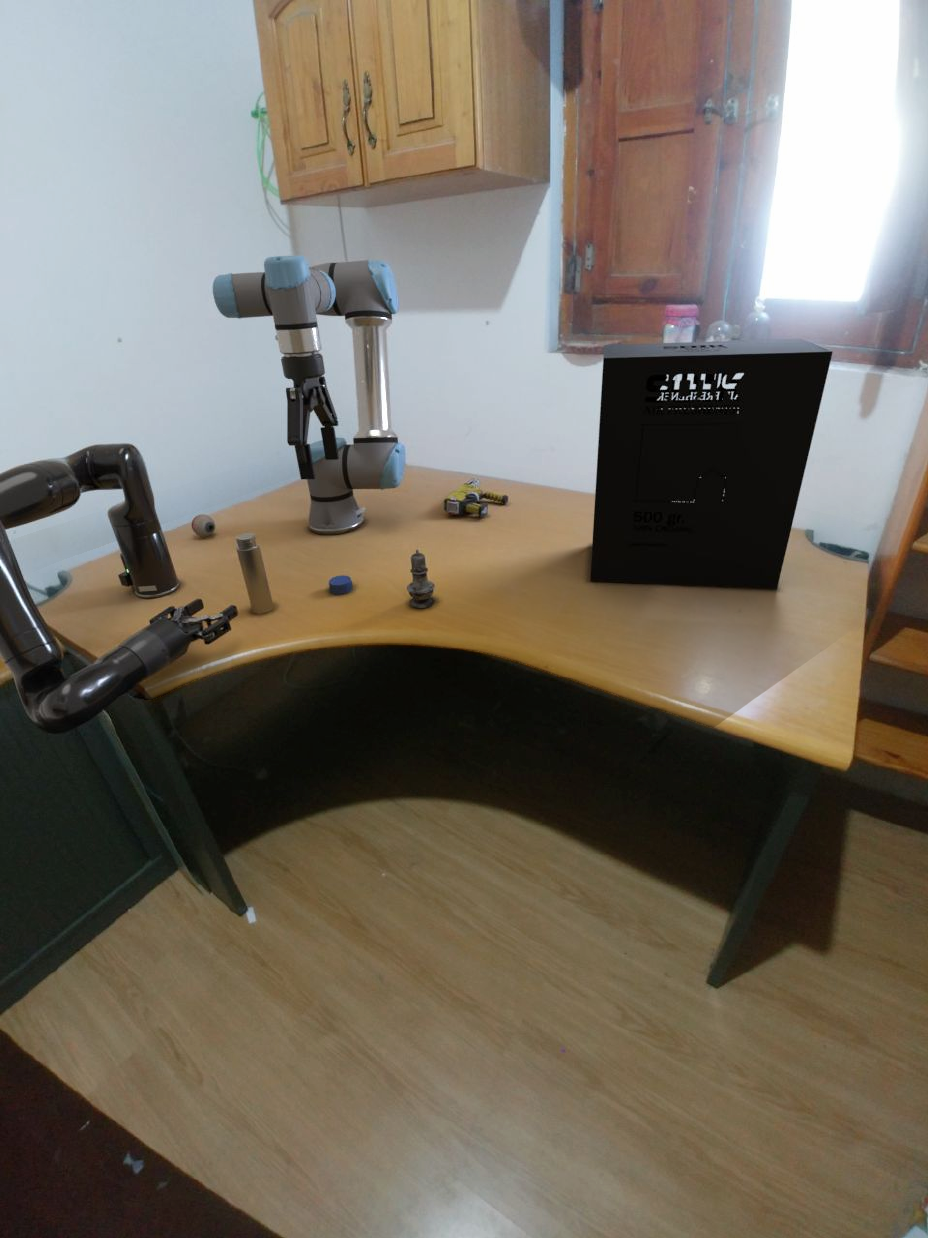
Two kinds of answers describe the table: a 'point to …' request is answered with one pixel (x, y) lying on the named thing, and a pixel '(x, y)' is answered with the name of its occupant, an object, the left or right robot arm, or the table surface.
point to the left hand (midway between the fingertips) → (218, 605)
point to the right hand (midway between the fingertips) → (320, 468)
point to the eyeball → (203, 525)
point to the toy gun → (471, 499)
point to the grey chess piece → (420, 583)
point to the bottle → (254, 573)
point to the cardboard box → (703, 460)
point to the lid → (340, 584)
